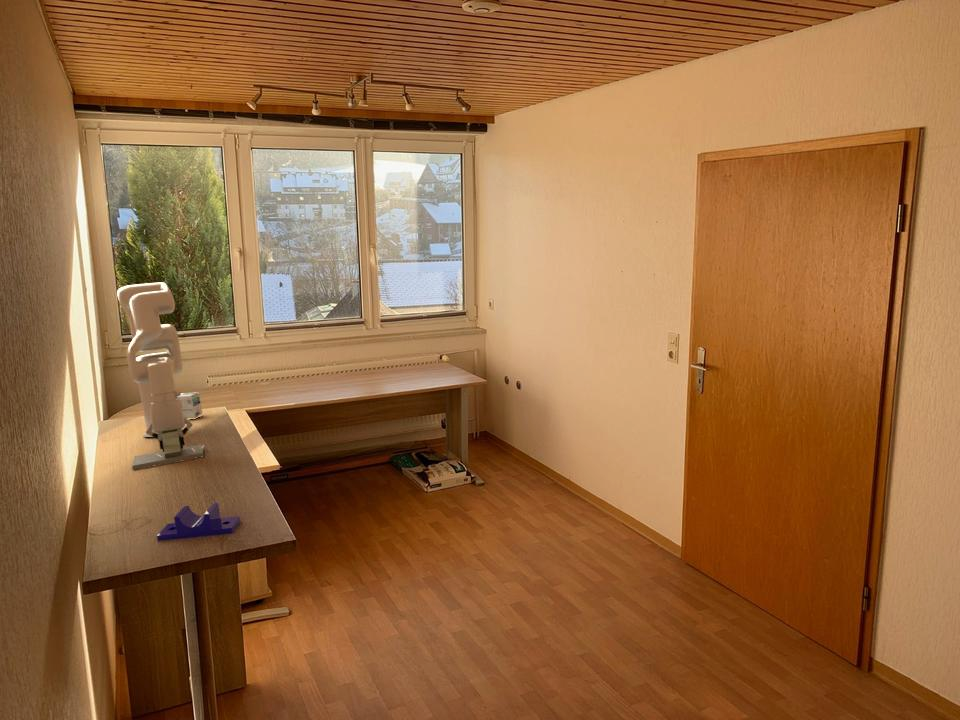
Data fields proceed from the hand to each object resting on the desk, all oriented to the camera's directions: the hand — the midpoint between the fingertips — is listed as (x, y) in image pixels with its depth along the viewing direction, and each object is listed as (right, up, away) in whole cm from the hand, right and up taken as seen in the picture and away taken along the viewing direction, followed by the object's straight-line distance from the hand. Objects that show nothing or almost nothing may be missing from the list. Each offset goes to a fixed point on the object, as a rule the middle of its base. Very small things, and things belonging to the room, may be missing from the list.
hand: (173, 448), depth 243 cm
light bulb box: (-19, +5, +58) cm, 61 cm away
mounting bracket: (+35, -13, -66) cm, 76 cm away
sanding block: (0, -2, 0) cm, 2 cm away
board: (-1, -3, 0) cm, 4 cm away
